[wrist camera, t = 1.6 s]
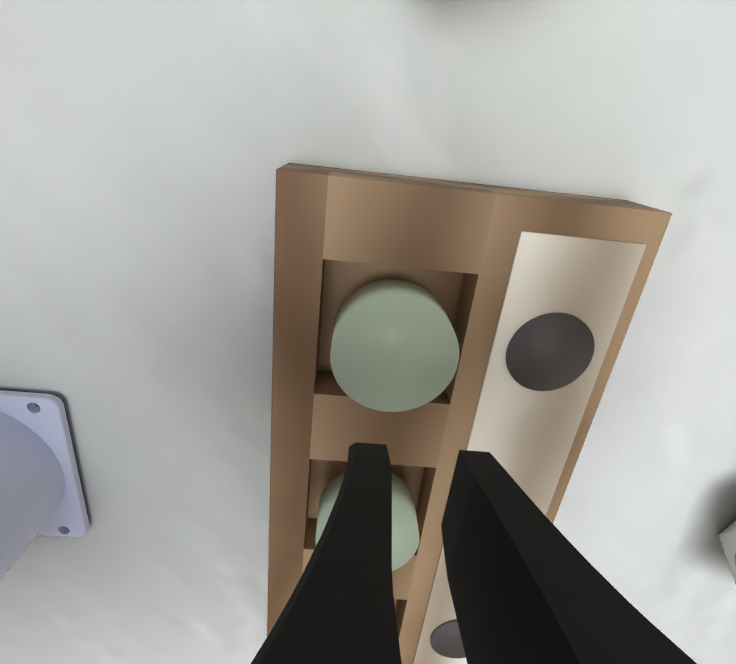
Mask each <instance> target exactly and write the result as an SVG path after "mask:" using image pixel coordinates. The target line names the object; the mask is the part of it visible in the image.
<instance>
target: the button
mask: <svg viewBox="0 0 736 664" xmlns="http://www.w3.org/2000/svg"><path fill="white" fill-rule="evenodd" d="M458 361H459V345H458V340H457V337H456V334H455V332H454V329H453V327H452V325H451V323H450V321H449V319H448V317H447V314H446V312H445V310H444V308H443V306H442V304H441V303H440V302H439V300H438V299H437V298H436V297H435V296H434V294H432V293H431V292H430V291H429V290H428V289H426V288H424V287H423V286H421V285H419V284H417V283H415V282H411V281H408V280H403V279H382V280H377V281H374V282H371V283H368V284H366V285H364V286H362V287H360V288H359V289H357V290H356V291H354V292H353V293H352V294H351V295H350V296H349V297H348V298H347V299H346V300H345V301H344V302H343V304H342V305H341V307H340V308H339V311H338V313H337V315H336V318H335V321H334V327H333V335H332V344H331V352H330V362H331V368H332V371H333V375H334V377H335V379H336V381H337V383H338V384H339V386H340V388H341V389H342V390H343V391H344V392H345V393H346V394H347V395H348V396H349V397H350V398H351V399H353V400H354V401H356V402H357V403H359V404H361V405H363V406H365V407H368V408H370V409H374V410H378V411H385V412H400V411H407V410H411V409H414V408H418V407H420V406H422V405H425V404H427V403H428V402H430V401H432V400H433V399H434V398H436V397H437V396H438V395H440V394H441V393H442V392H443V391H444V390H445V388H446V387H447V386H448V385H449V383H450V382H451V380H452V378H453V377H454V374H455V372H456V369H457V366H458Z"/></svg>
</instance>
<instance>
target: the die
mask: <svg viewBox="0 0 736 664" xmlns="http://www.w3.org/2000/svg"><path fill="white" fill-rule="evenodd" d="M718 535H719V538H720V541H721V544H722V547H723V549H724V552H725V555H726V558H727V561H728V564H729V566H730V569H731V572H732V575H733V578H734V581H735V583H736V520H735V521H734V522H732V523H731V524H730V525H729V526H728V527H727V528H725V529H724V530H723V531H722V532H721V533H720V534H718Z"/></svg>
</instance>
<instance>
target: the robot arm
mask: <svg viewBox="0 0 736 664" xmlns="http://www.w3.org/2000/svg"><path fill="white" fill-rule="evenodd" d="M34 403H36V404H37V405H39V407H37V406H36V405H35V404H34ZM89 527H90V525H89V520H88V516H87V511H86V506H85V502H84V497H83V492H82V487H81V483H80V478H79V473H78V469H77V464H76V459H75V455H74V450H73V445H72V441H71V436H70V431H69V426H68V422H67V417H66V412H65V408H64V404H63V402H62V400H61V399H60V398H59V397H57V396H55V395H51V394H43V393H30V392H16V391H3V390H0V580H1V579H2V578H3V576H4V575H5V574H6V572H7V571H8V570H9V569H10V567H11V566H12V565H13V564H14V562H15V561H16V560H17V558H18V557H19V556H20V555H21V553H22V552H23V551H24V550H25V548H26V547H27V546H28V544H29V543H30V542H31V541H32V539H33V538H34V537H35V536H36V535H40V536H58V537H75V538H77V537H82V536H84V535H85V534H86V533H87V531H88V530H89ZM441 530H442V539H443V548H444V556H445V564H446V571H447V579H448V583H449V588H450V592H451V596H452V601H453V605H454V609H455V614H456V618H457V622H458V626H459V631H460V635H461V639H462V643H463V648H464V652H465V656H466V660H467V664H697V663H695V662H694V661H693V660H692V659H691V658H690V657H689V656H688V655H686V654H685V653H684V652H683V651H682V650H681V649H680V648H679V647H677V646H676V645H675V644H674V643H673V642H672V641H671V640H670V639H669V638H667V637H666V636H665V635H664V634H663V633H662V632H661V631H660V630H658V629H657V628H656V627H655V626H654V625H653V624H652V623H651V622H649V621H648V620H647V619H646V618H645V617H644V616H643V615H642V614H641V613H640V612H639V611H638V610H637V609H636V608H635V607H633V606H632V605H631V604H630V603H629V602H628V601H627V600H626V599H625V598H624V597H623V596H622V595H621V594H620V593H619V592H618V591H617V590H616V589H615V588H614V587H613V586H612V585H611V584H610V583H609V582H608V581H607V580H606V579H605V578H604V577H603V576H602V575H601V574H600V573H599V572H598V571H597V570H596V569H595V568H594V567H593V566H592V565H591V564H590V563H589V562H588V561H587V560H586V559H585V558H584V557H583V556H582V555H581V554H580V553H579V552H578V551H577V550H576V548H575V547H574V546H573V545H572V544H571V543H570V542H569V541H568V540H567V539H566V538H565V537H564V536H563V535H562V534H561V532H560V531H559V530H558V529H557V528H556V527H555V526H554V525H553V524H552V523H551V521H550V520H549V519H548V518H547V517H546V516H545V515H544V514H543V513H542V511H541V510H540V509H539V508H538V507H537V506H536V505H535V504H534V502H533V501H532V500H531V499H530V498H529V497H528V496H527V494H526V493H525V492H524V491H523V490H522V489H521V488H520V486H519V485H518V484H517V483H516V482H515V481H514V479H513V478H512V477H511V476H510V475H509V474H508V472H507V471H506V470H505V469H504V468H503V467H502V465H501V464H500V463H499V462H498V461H497V460H496V459H495V458H494V456H493V455H492V454H491V453H490V452H482V451H468V450H459V453H458V457H457V461H456V465H455V469H454V473H453V478H452V482H451V486H450V490H449V494H448V498H447V502H446V507H445V511H444V515H443V519H442V523H441ZM251 664H402V662H401V654H400V646H399V638H398V629H397V621H396V613H395V605H394V596H393V581H392V469H391V464H390V458H389V454H388V450H387V445H386V444H372V443H358V442H355V443H354V444H352V445H351V446H349V451H348V460H347V466H346V470H345V474H344V477H343V481H342V484H341V487H340V490H339V493H338V496H337V498H336V501H335V503H334V506H333V508H332V511H331V513H330V516H329V518H328V521H327V523H326V526H325V528H324V530H323V532H322V535H321V537H320V539H319V541H318V543H317V545H316V547H315V549H314V551H313V553H312V555H311V557H310V560H309V562H308V564H307V566H306V568H305V570H304V572H303V574H302V576H301V578H300V580H299V582H298V583H297V585H296V587H295V589H294V591H293V593H292V595H291V597H290V598H289V600H288V602H287V604H286V606H285V607H284V609H283V611H282V613H281V614H280V616H279V618H278V620H277V621H276V623H275V625H274V627H273V628H272V630H271V632H270V633H269V635H268V637H267V638H266V640H265V642H264V643H263V645H262V647H261V648H260V650H259V651H258V653H257V655H256V656H255V658H254V659H253V661H252V663H251Z"/></svg>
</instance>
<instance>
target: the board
mask: <svg viewBox="0 0 736 664" xmlns="http://www.w3.org/2000/svg"><path fill="white" fill-rule="evenodd" d="M671 215H672V213H670V212H666V211H662V210H659V209H655V208H652V207H648V206H645V205H641V204H638V203H634V202H631V201H626V200H617V199H608V198H599V197H590V196H581V195H572V194H563V193H554V192H545V191H536V190H527V189H518V188H509V187H500V186H491V185H482V184H473V183H464V182H455V181H446V180H437V179H428V178H419V177H410V176H401V175H392V174H383V173H374V172H365V171H356V170H347V169H338V168H329V167H320V166H311V165H302V164H293V163H288V164H286V165H284V166H282V167H280V168H278V169H277V170H276V210H275V261H274V313H273V364H272V416H271V467H270V518H269V570H268V621H267V637H268V635H269V633H270V632H271V630H272V628H273V627H274V625H275V623H276V621H277V620H278V618H279V616H280V614H281V613H282V611H283V609H284V607H285V606H286V604H287V602H288V600H289V598H290V597H291V595H292V593H293V591H294V589H295V587H296V585H297V583H298V582H299V580H300V578H301V576H302V574H303V572H304V570H305V568H306V566H307V564H308V562H309V560H310V557H311V555H312V553H313V551H314V549H315V547H316V528H317V518H318V509H319V500H320V496H321V493H322V491H323V489H324V488H325V486H326V485H327V484H328V483H329V482H330V481H331V480H332V479H333V478H335V477H336V476H338V475H340V474H342V473H344V472H345V470H346V466H347V460H348V451H349V446H351V445H352V444H354V443H355V442H358V443H372V444H386V445H387V450H388V454H389V458H390V464H391V469H392V473H393V474H395V475H397V476H398V477H400V478H401V479H402V480H404V481H405V482H406V484H407V485H408V486H409V488H410V489H411V491H412V493H413V497H414V503H415V510H416V516H417V523H418V530H419V545H418V548H417V550H416V552H415V554H414V555H413V557H412V558H411V559H410V560H409V561H408V562H407V563H406V564H404V565H403V566H401V567H400V568H398V569H396V570H394V571H392V581H393V596H394V605H395V613H396V621H397V629H398V638H399V646H400V654H401V662H402V664H467V660H466V656H465V652H464V648H463V643H462V639H461V635H460V631H459V626H458V622H457V618H456V614H455V609H454V605H453V601H452V596H451V592H450V588H449V583H448V579H447V571H446V564H445V556H444V548H443V539H442V530H441V523H442V519H443V515H444V511H445V507H446V502H447V498H448V494H449V490H450V486H451V482H452V478H453V473H454V469H455V465H456V461H457V457H458V453H459V450H468V451H482V452H490V453H491V454H492V455H493V456H494V458H495V459H496V460H497V461H498V462H499V463H500V464H501V465H502V467H503V468H504V469H505V470H506V471H507V472H508V474H509V475H510V476H511V477H512V478H513V479H514V481H515V482H516V483H517V484H518V485H519V486H520V488H521V489H522V490H523V491H524V492H525V493H526V494H527V496H528V497H529V498H530V499H531V500H532V501H533V502H534V504H535V505H536V506H537V507H538V508H539V509H540V510H541V511H542V513H543V514H544V515H545V516H546V517H547V518H548V519H549V520H550V521H551V523H552V524H553V522H554V519H555V516H556V514H557V511H558V509H559V506H560V503H561V501H562V498H563V496H564V493H565V490H566V488H567V485H568V483H569V480H570V477H571V475H572V472H573V470H574V467H575V464H576V462H577V459H578V457H579V454H580V451H581V449H582V446H583V444H584V441H585V438H586V436H587V433H588V431H589V428H590V426H591V423H592V420H593V418H594V415H595V413H596V410H597V407H598V405H599V402H600V400H601V397H602V394H603V392H604V389H605V387H606V384H607V381H608V379H609V376H610V374H611V371H612V368H613V366H614V363H615V361H616V358H617V355H618V353H619V350H620V348H621V345H622V342H623V340H624V337H625V335H626V332H627V329H628V327H629V324H630V322H631V319H632V316H633V314H634V311H635V309H636V306H637V304H638V301H639V298H640V296H641V293H642V291H643V288H644V285H645V283H646V280H647V278H648V275H649V272H650V270H651V267H652V265H653V262H654V259H655V257H656V254H657V252H658V249H659V246H660V244H661V241H662V239H663V236H664V233H665V231H666V228H667V226H668V223H669V220H670V218H671ZM382 279H403V280H408V281H411V282H415V283H417V284H419V285H421V286H423V287H424V288H426V289H428V290H429V291H430V292H431V293H432V294H434V296H435V297H436V298H437V299H438V300H439V302H440V303H441V304H442V306H443V308H444V310H445V312H446V314H447V317H448V319H449V321H450V323H451V325H452V327H453V329H454V332H455V334H456V337H457V340H458V345H459V361H458V366H457V369H456V372H455V374H454V377H453V378H452V380H451V382H450V383H449V385H448V386H447V387H446V388H445V390H444V391H443V392H442V393H441V394H440V395H438V396H437V397H436V398H434V399H433V400H432V401H430V402H428V403H427V404H425V405H422V406H420V407H418V408H414V409H411V410H407V411H400V412H385V411H378V410H374V409H370V408H368V407H365V406H363V405H361V404H359V403H357V402H356V401H354V400H353V399H351V398H350V397H349V396H348V395H347V394H346V393H345V392H344V391H343V390H342V389H341V388H340V386H339V384H338V383H337V381H336V379H335V377H334V375H333V371H332V368H331V362H330V352H331V344H332V335H333V327H334V321H335V318H336V315H337V313H338V311H339V308H340V307H341V305H342V304H343V302H344V301H345V300H346V299H347V298H348V297H349V296H350V295H351V294H352V293H353V292H354V291H356V290H357V289H359V288H360V287H362V286H364V285H366V284H368V283H371V282H374V281H377V280H382Z"/></svg>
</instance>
